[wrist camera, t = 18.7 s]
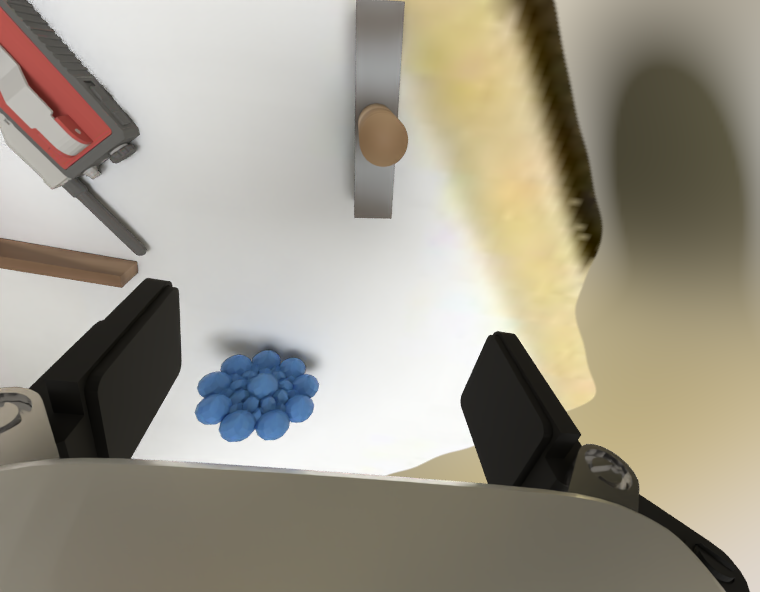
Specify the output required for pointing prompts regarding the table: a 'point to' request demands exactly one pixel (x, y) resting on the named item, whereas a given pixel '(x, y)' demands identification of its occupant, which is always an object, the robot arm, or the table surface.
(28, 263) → the dock
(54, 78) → the walkie-talkie
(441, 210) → the table surface
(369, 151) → the scraper
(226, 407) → the grapes
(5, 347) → the table surface
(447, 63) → the table surface
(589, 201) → the table surface
